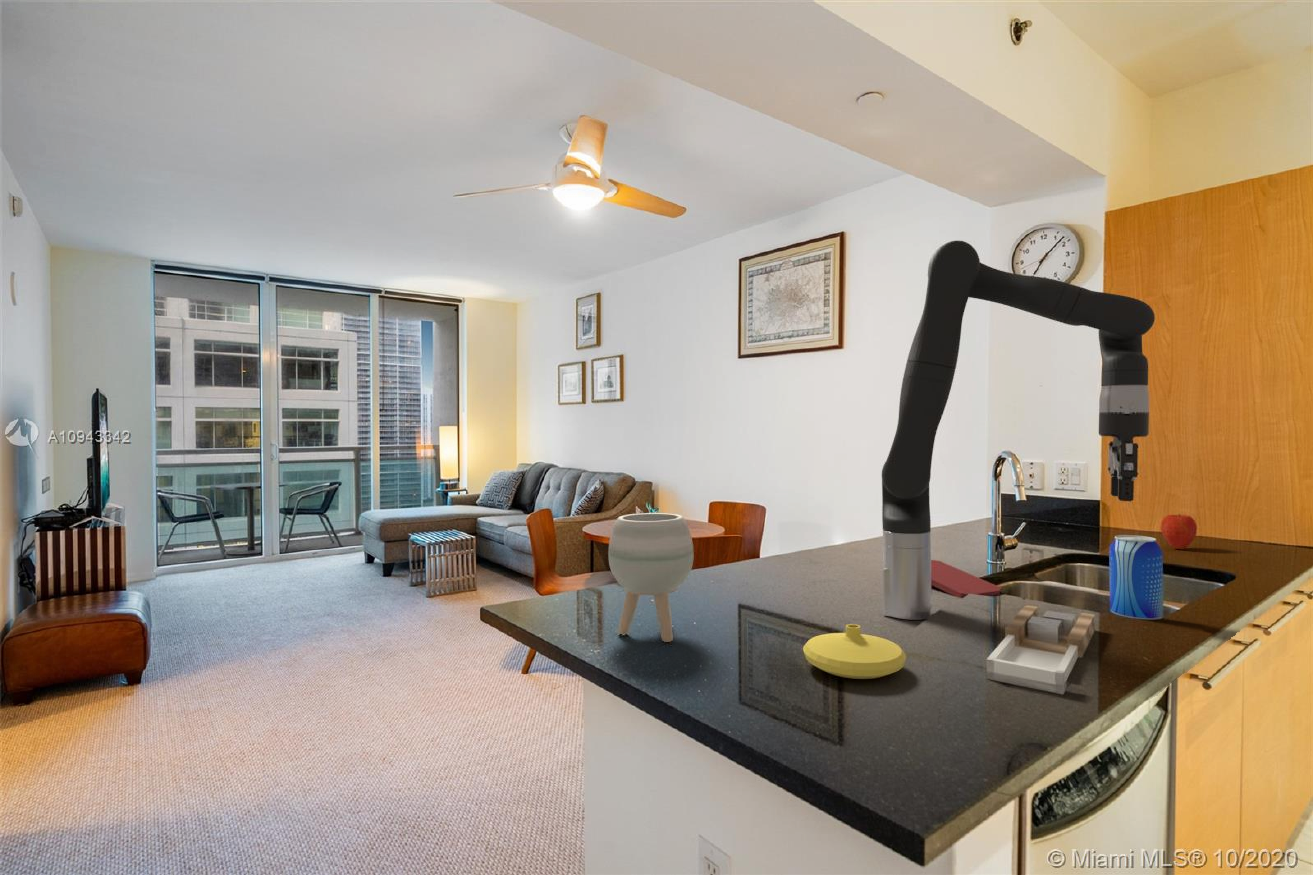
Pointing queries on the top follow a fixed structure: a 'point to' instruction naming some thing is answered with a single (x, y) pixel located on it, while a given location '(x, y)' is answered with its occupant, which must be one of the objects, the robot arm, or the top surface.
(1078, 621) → the slot board
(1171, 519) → the apple
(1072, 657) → the tray
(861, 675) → the vase
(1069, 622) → the chip
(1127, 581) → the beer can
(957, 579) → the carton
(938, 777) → the top surface
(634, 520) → the planter
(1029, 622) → the chip
